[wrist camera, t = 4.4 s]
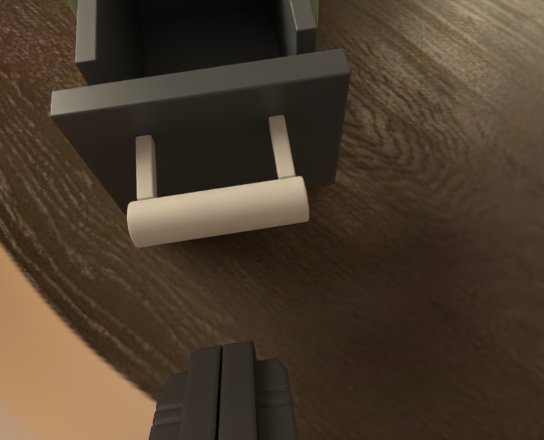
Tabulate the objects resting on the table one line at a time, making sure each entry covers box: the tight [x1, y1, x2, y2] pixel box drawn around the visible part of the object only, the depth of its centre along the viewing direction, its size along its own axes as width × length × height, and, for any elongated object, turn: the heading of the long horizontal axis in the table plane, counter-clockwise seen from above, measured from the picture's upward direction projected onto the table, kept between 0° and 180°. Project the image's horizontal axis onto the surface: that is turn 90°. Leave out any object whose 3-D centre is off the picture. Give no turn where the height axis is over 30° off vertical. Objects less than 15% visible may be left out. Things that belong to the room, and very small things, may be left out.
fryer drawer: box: [50, 0, 351, 248], centre depth 21 cm, size 17×10×8 cm, turn 8°
